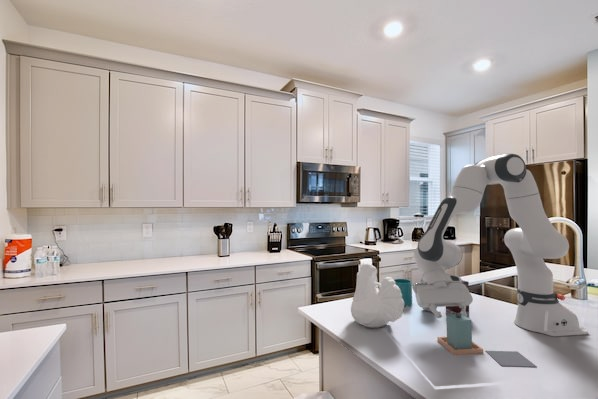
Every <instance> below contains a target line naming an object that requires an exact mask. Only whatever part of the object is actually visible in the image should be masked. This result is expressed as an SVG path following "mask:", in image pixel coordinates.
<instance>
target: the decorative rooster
mask: <svg viewBox="0 0 598 399" xmlns="http://www.w3.org/2000/svg"><path fill="white" fill-rule="evenodd" d="M377 274H378V269H377V267H376V266H374V265H373V264H372V263H370V262H366V263H365V262H364V263H361V265H360V269H359V271H358V272H357V273H356V286H355V291H354V295H353V297H352V302H351V304H350V305H351V306H350V314H351V316H352V318H353V319H354V321H355V322H356V323H358V324H360V325H363V326H365V327H366V328H375V329H376V328H377V329H378V328H381V327H384V326H385V325H387V324H389V322H392V323H395V321H397V320H399V319H400V318H402V316H403V313H404V311H403V310H405V306H404V300H403V299H402V294H401V290H400V288H399V287H398V286H397V285H395V284H396V282H395V281H394V279H393V277H390V276H386V277H384V278H383V279H382V281H381V282H378V277H377Z"/></svg>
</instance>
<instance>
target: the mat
mask: <svg viewBox="0 0 598 399" xmlns="http://www.w3.org/2000/svg"><path fill="white" fill-rule="evenodd" d="M485 353H486V354H487V355H489V356H490V357H491V358H492V359H493V360H494V361H495V362H496V363H497V364H498V365H499V366H500V367H508V368H509V367H515V368H517V367H518V368H538V366H537V365H536V364H534V363H533V362H532V361H531V360H529V359H528V358H526V357H525V356H524V355H523V354H522V353H520V352H519V351H515V350H514V351H510V350H485Z"/></svg>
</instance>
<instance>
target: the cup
mask: <svg viewBox="0 0 598 399" xmlns="http://www.w3.org/2000/svg"><path fill="white" fill-rule="evenodd" d="M393 280H394V281H395V282H396V284H395V285H397V286H398V287H399V288H400V290H401V294H402V299H403V300H404V307H410V306H411V305H413V288H412V286H413V283H412V282H413V281H412V280H410V279H406V278H395V279H393Z"/></svg>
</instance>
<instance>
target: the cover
mask: <svg viewBox="0 0 598 399" xmlns="http://www.w3.org/2000/svg"><path fill="white" fill-rule="evenodd" d="M445 317H446V318H445V319H446V320H445V321H446V337H447V343H448V344H449V345H450V346H451V347H453V348H454V349H455V350H461V349H472V342H473V333H472V332H473V331H472V330H473V329H472V319H471V318H470V317H469V318H467V317H466V316H464V315H462V314H461V313H456V314H446V315H445Z"/></svg>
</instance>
